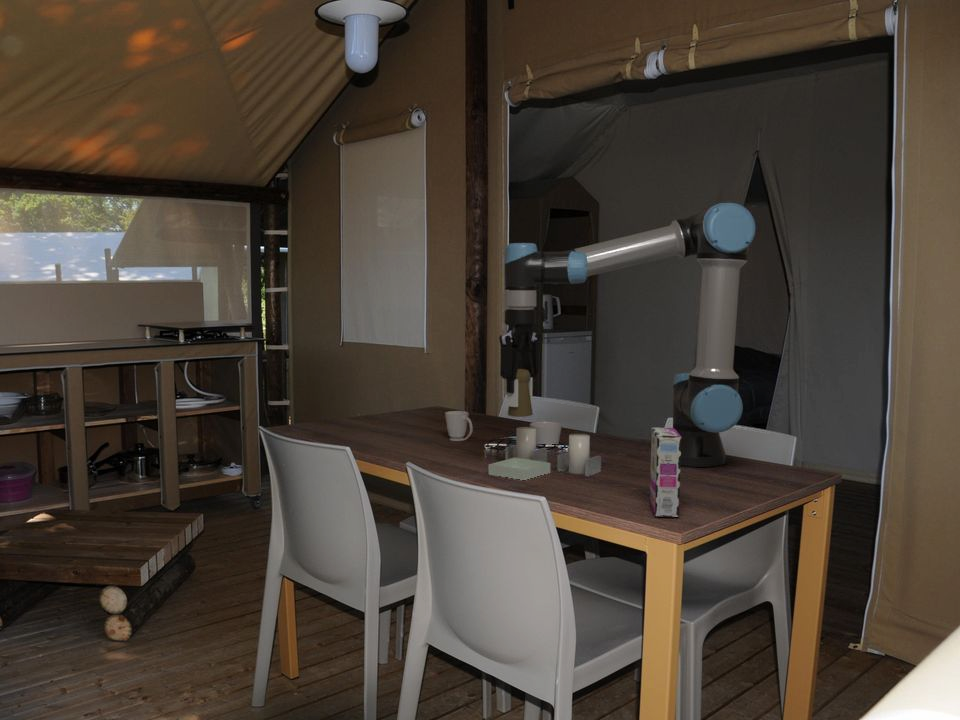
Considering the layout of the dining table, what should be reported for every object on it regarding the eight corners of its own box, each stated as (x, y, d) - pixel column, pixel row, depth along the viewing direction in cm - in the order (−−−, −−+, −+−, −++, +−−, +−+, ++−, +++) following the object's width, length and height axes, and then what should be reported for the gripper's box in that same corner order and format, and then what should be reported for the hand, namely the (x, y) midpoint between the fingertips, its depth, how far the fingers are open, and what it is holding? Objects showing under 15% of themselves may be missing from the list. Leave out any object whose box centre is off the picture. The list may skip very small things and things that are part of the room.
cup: (458, 436, 257) (457, 410, 256) (480, 441, 250) (480, 413, 249) (440, 439, 252) (440, 412, 251) (462, 444, 245) (462, 416, 244)
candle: (561, 443, 245) (561, 422, 245) (561, 449, 236) (561, 427, 236) (530, 443, 246) (530, 421, 246) (529, 449, 237) (529, 426, 237)
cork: (515, 417, 202) (514, 371, 200) (503, 413, 207) (502, 368, 206) (537, 415, 204) (536, 369, 203) (524, 411, 210) (524, 366, 208)
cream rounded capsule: (539, 462, 219) (539, 428, 218) (528, 466, 215) (528, 430, 214) (523, 460, 222) (524, 426, 221) (512, 463, 218) (512, 428, 217)
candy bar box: (680, 519, 167) (682, 436, 165) (654, 518, 167) (656, 435, 166) (673, 504, 178) (674, 426, 176) (649, 503, 178) (650, 426, 177)
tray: (550, 473, 207) (550, 462, 207) (524, 480, 199) (524, 470, 199) (515, 467, 214) (515, 457, 214) (488, 474, 206) (488, 464, 205)
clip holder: (600, 472, 208) (601, 455, 208) (587, 476, 204) (588, 459, 203) (519, 459, 224) (519, 444, 223) (505, 462, 219) (505, 447, 219)
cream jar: (593, 471, 209) (593, 435, 208) (582, 474, 205) (582, 438, 204) (575, 468, 212) (576, 433, 211) (564, 472, 208) (565, 435, 207)
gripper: (529, 307, 212) (529, 399, 214) (484, 308, 198) (484, 407, 200) (554, 307, 208) (553, 402, 210) (510, 309, 194) (509, 410, 196)
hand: (519, 404), depth 205 cm, fingers closed on cork, 5 cm apart
